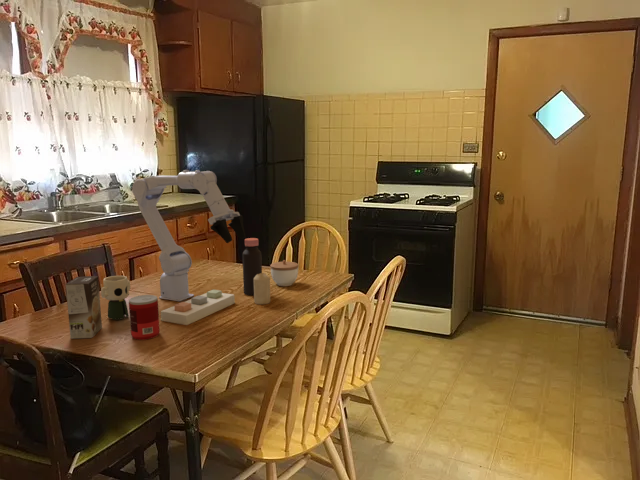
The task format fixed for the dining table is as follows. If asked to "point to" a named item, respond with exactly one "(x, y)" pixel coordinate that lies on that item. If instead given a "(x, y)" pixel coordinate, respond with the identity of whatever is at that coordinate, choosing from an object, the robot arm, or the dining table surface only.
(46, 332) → the dining table surface
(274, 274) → the lidded jar
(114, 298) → the character mug
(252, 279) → the bottle
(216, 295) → the sage button
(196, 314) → the button panel
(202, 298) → the slate button
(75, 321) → the coffee box
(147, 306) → the canned food
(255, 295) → the candle
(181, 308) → the terracotta button
